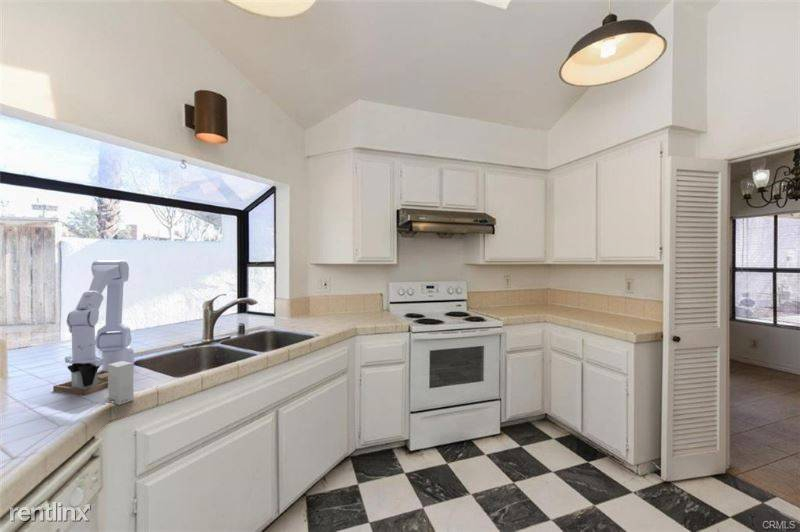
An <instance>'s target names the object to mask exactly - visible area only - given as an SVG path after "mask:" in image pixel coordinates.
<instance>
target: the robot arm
mask: <svg viewBox="0 0 800 532" xmlns="http://www.w3.org/2000/svg"><path fill="white" fill-rule="evenodd" d="M90 269H91V275H92V276H93V277H92V279H91V283H90V286H89V290H88V291H85V292H83V293H82V295H81V297H80V299H79V301H78V303H77V305H76V307H75V309H74V310H72V311H70V312H69V313H68V314H67V318H66V324H67V326H68V331H69V333H70V334H71V352H72V353H71V355H68V356H65V357H64V363H66V364H70V365H67V369H68V370H69V372H70V374H71V373H73V372H76V371H80V372H81V375H82V378H83V384H84V386H85V387H86V386H89V385H92V384H93V381H94V377H95V374H96V372H97V373H98V371H99V368H100V367H102V368H101V370H102V371H108V364H112V363H116V362H120V361H125V362H129V363H133V365H135V353H134V352H135V351H134V349H133V348H132V347H131V346H130V345H131V342H132V335H131V328H130V327H128V326H127V325H125V324H123V305H124V303H123V301H124V297H123V296H124V285H125V284H124V283H126V282H127V281H128V280H129V276H130V275H129V272H130V271H129V270H130V267H129V264H128V262H127V261H126V260H125V259H121V260H120V259H118V260H117V259H116V260H114V259H113V260H109V259H108V260H107V259H106V260H103V259H102V260H101V259H100V260H99V259H96V260H94V261H93V262H92V264H91V268H90ZM106 287H107V288H106ZM105 289H106V307H105V308H106V310H105V325H104V326H102V327H101V328H98V330H97V332H96V327H95V326H96V325H97V324H98V322H99V317H100V307H101V305H102V302H103V300H104V295H103V294H102V293H103V292H104V290H105ZM96 348H97V349H98V350H99V352H101V357H99V356H97V355H96Z"/></svg>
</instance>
